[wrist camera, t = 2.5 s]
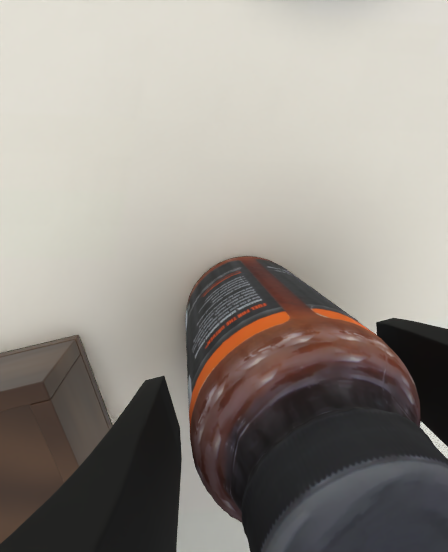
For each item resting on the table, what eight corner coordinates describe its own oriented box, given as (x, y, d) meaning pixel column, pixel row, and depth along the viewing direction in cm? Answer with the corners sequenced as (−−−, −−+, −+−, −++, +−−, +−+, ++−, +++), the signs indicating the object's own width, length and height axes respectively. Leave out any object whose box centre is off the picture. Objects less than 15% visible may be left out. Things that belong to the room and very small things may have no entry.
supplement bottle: (167, 341, 16) (129, 671, 5) (212, 234, 15) (296, 347, 4) (269, 375, 17) (422, 696, 6) (318, 279, 16) (611, 460, 5)
